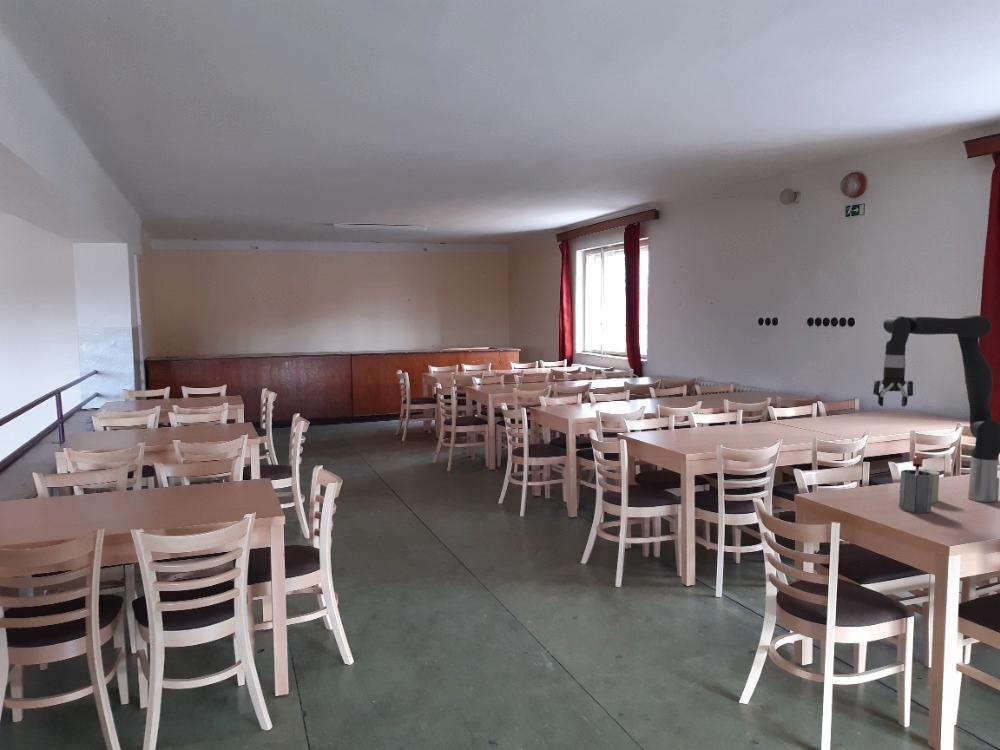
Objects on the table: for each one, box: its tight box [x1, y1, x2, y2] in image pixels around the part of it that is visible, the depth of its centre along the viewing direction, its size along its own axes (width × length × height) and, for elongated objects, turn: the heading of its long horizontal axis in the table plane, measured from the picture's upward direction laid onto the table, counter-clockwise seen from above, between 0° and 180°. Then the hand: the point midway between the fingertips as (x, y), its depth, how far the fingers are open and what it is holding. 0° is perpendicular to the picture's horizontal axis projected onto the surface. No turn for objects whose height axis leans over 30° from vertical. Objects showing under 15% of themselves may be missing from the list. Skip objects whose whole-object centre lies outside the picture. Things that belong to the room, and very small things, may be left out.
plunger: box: [912, 455, 924, 475], centre depth 277 cm, size 7×7×20 cm
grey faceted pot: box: [898, 469, 933, 514], centre depth 279 cm, size 10×12×14 cm
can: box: [919, 468, 940, 503], centre depth 293 cm, size 9×9×12 cm
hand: (892, 406), depth 291 cm, fingers open, 8 cm apart
